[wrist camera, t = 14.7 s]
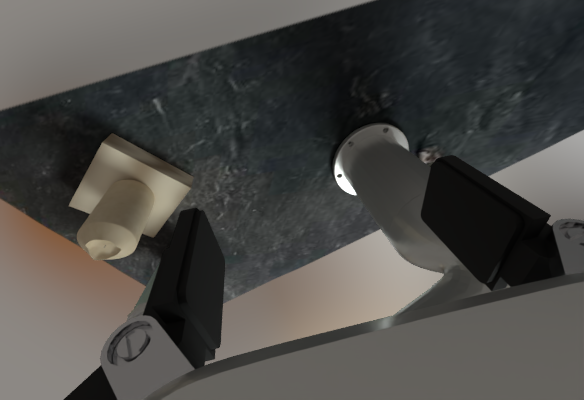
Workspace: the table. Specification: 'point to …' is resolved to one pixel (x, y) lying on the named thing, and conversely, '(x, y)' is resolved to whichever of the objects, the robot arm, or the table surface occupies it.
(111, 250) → the candle
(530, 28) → the table surface
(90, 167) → the plinth
